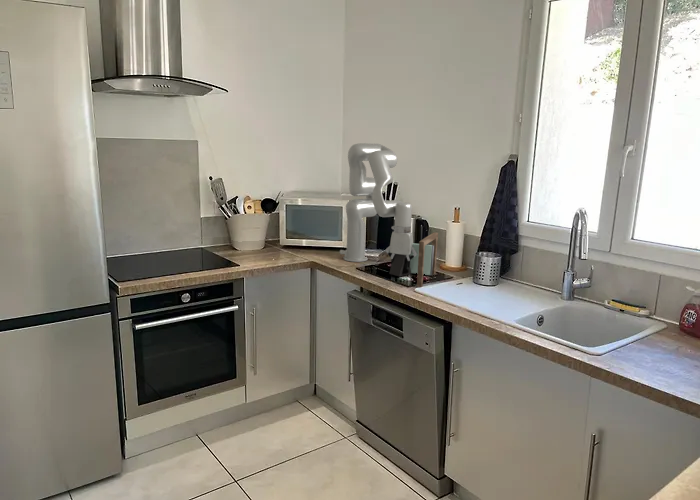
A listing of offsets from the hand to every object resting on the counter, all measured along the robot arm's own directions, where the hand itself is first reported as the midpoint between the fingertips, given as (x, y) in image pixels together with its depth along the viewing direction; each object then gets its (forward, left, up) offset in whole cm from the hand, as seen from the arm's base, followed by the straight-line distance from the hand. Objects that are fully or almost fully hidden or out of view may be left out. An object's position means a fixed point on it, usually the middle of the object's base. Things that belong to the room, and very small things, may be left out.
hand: (400, 267), depth 247 cm
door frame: (+13, -2, -4) cm, 14 cm away
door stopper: (0, 0, -3) cm, 3 cm away
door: (+4, +6, -3) cm, 8 cm away
